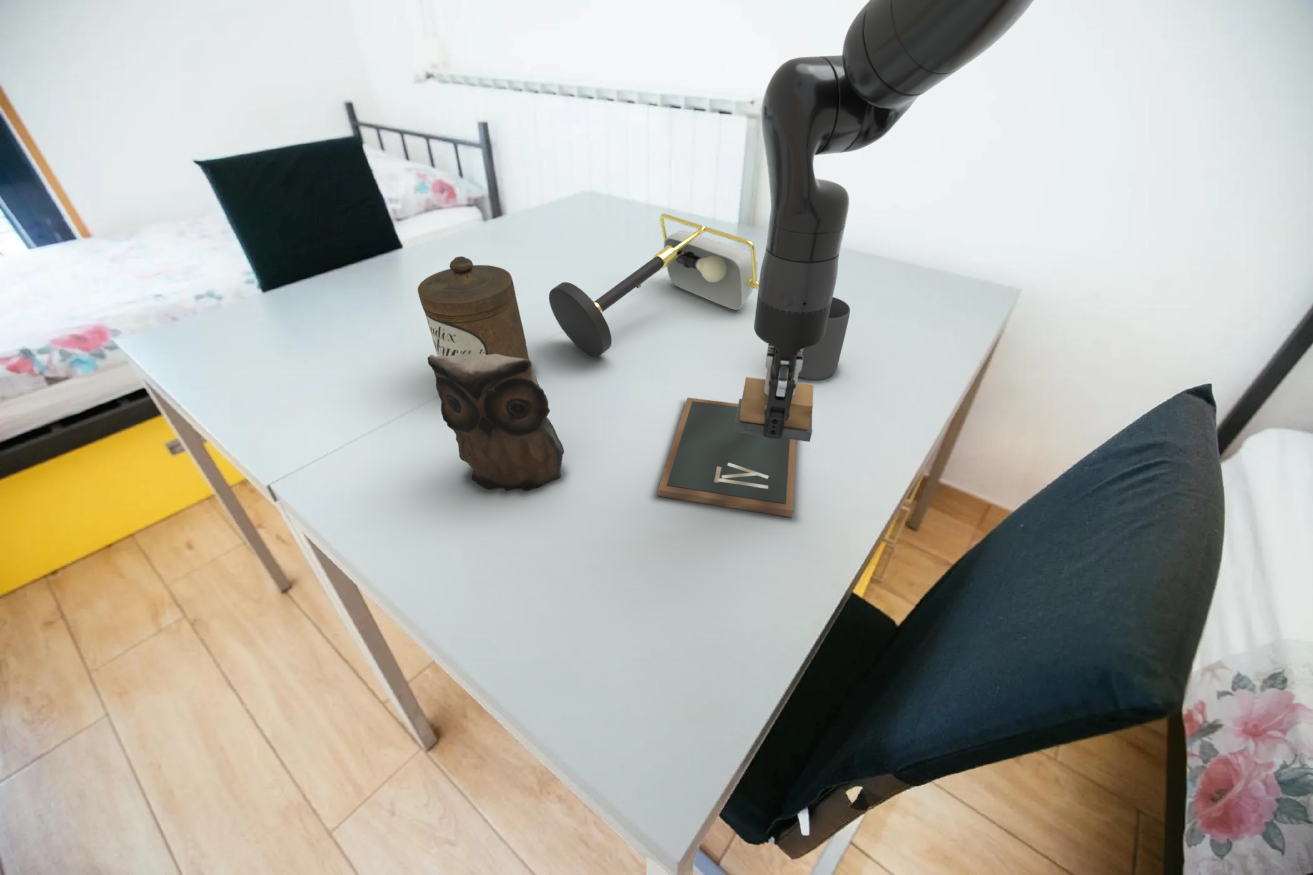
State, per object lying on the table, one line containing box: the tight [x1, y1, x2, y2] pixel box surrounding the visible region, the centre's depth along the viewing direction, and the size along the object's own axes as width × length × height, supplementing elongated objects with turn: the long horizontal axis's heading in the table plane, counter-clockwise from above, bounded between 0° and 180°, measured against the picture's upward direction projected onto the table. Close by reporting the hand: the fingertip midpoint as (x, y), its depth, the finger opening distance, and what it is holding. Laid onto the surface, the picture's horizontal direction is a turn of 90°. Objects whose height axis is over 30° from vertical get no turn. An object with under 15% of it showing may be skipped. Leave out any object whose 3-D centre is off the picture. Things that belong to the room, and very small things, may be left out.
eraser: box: [734, 376, 814, 443], centre depth 65 cm, size 9×5×5 cm, turn 77°
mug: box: [798, 296, 851, 381], centre depth 94 cm, size 14×9×12 cm
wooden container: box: [417, 256, 532, 371], centre depth 90 cm, size 15×15×22 cm
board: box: [657, 397, 798, 518], centre depth 80 cm, size 18×22×2 cm
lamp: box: [548, 213, 759, 358], centre depth 108 cm, size 27×23×40 cm
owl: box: [427, 353, 565, 492], centre depth 72 cm, size 13×13×20 cm
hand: (773, 421), depth 66 cm, fingers closed on eraser, 5 cm apart
